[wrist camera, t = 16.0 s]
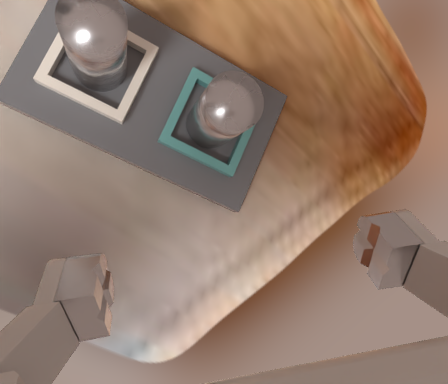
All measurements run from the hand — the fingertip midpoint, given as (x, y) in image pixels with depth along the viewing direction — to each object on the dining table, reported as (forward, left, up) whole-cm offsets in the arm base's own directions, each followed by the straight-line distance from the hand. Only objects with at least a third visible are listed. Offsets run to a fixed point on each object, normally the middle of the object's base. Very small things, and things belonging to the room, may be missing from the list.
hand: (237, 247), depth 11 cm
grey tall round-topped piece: (+10, +11, -21) cm, 26 cm away
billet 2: (+10, 0, -21) cm, 23 cm away
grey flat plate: (+10, +5, -23) cm, 25 cm away
